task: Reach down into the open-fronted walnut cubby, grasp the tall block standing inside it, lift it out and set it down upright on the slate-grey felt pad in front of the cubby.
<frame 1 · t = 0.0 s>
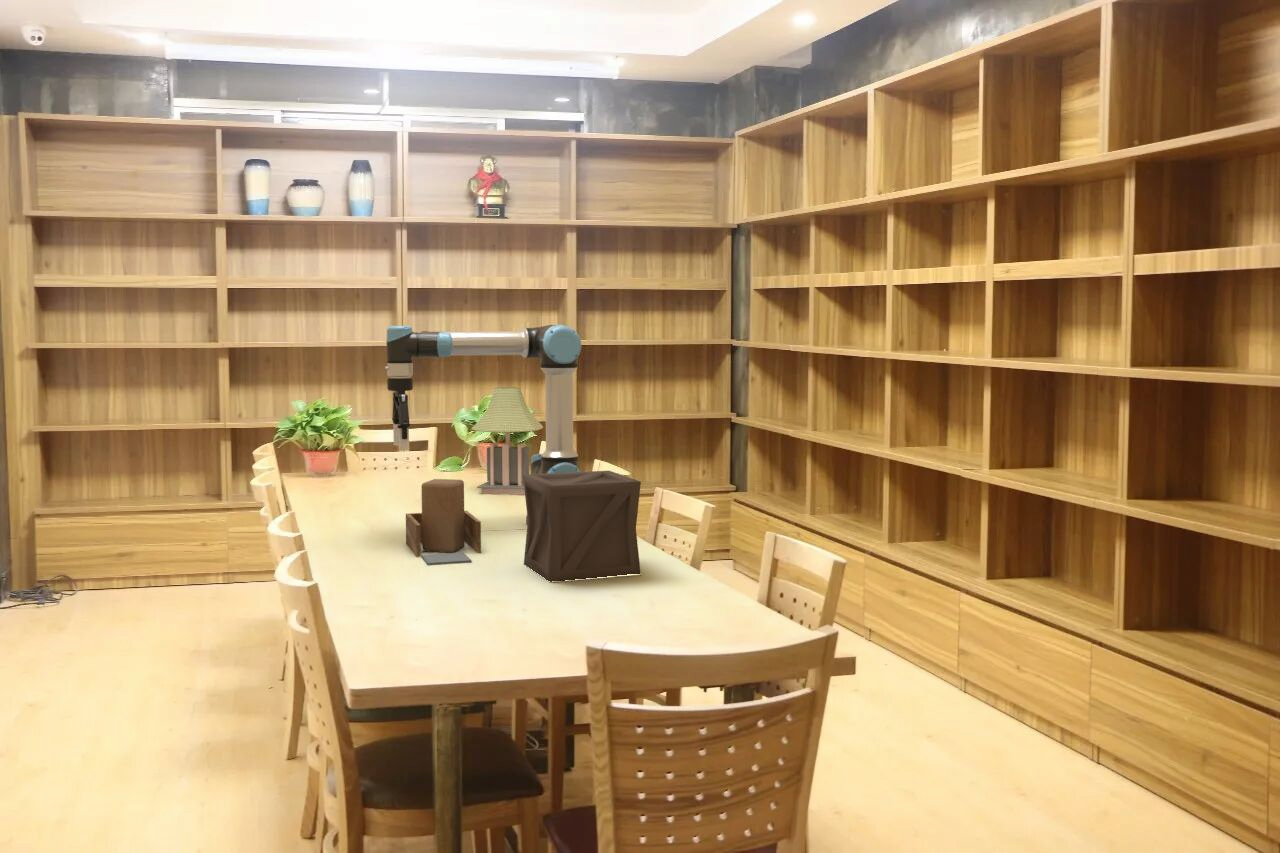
hand: (401, 447, 378), 28 cm above the table, fingers open, 13 cm apart
cubby: (443, 549, 364), on the table
wooden crate: (581, 570, 335), on the table
block: (443, 549, 364), on the table
desk lamp: (508, 492, 481), on the table
pad: (446, 559, 349), on the table
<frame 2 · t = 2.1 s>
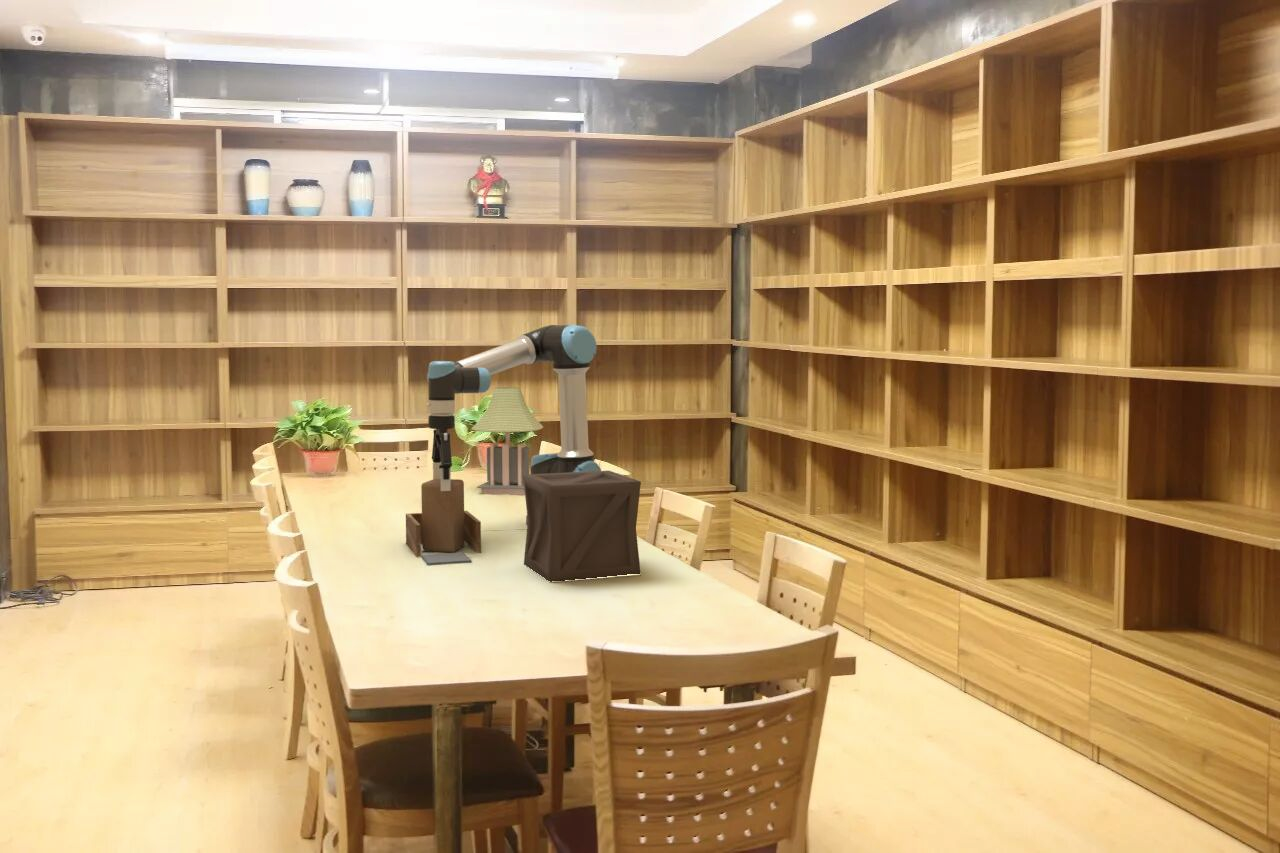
hand: (441, 487, 363), 18 cm above the table, fingers open, 13 cm apart
nothing on the table moved.
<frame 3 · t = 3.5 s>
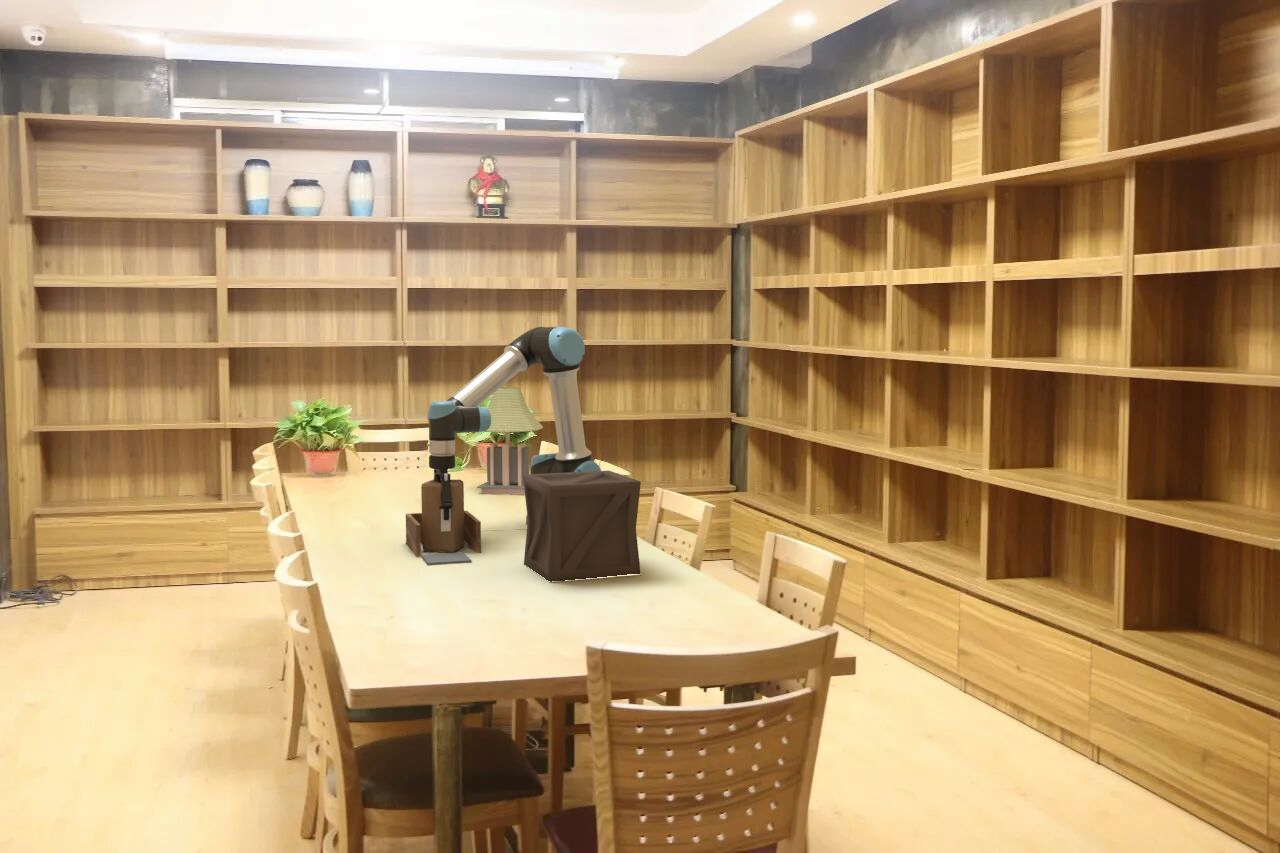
hand: (441, 527, 364), 6 cm above the table, fingers open, 13 cm apart
block: (443, 549, 364), on the table, touching gripper, hand
everything else where it was.
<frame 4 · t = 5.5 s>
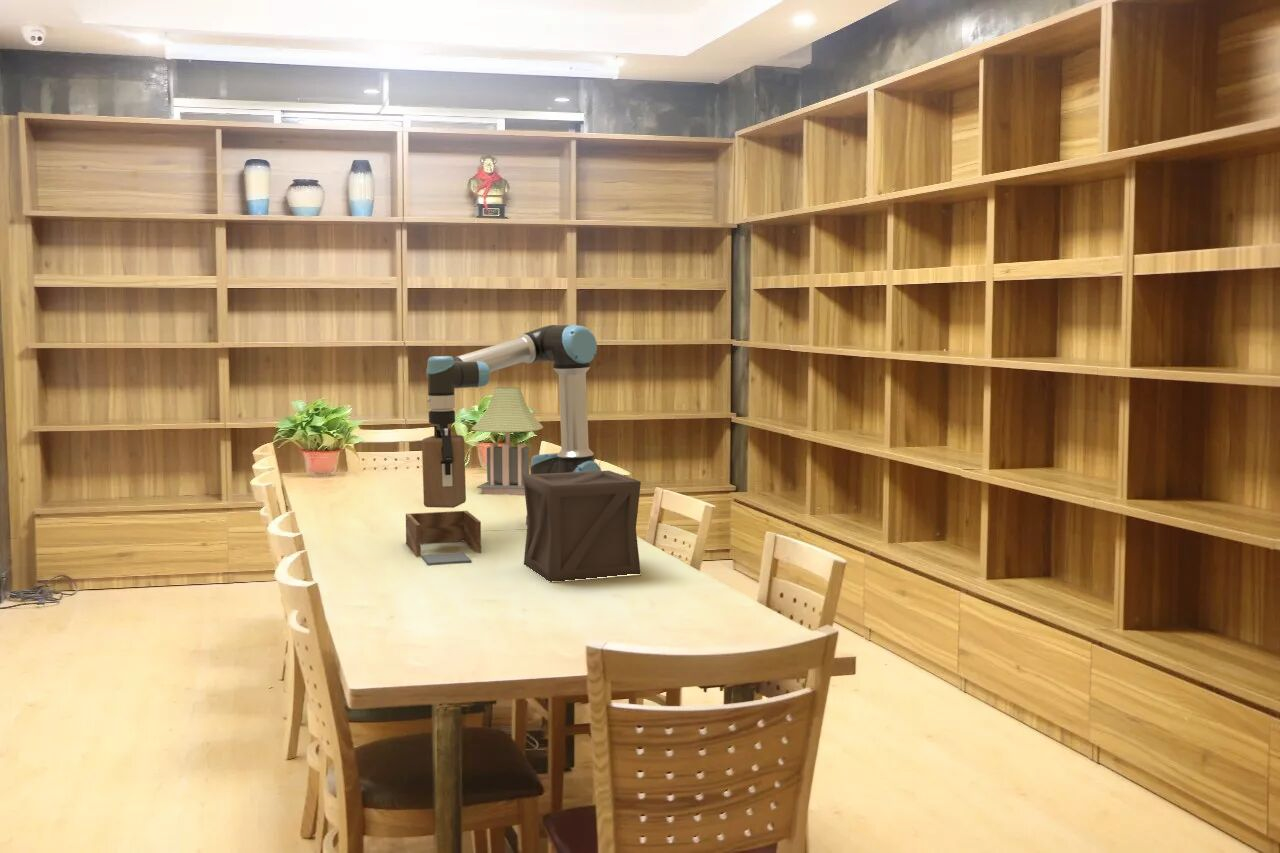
hand: (443, 483, 363), 19 cm above the table, fingers closed on block, 13 cm apart
block: (445, 505, 364), point 13 cm above the table, touching gripper, hand
everything else where it was.
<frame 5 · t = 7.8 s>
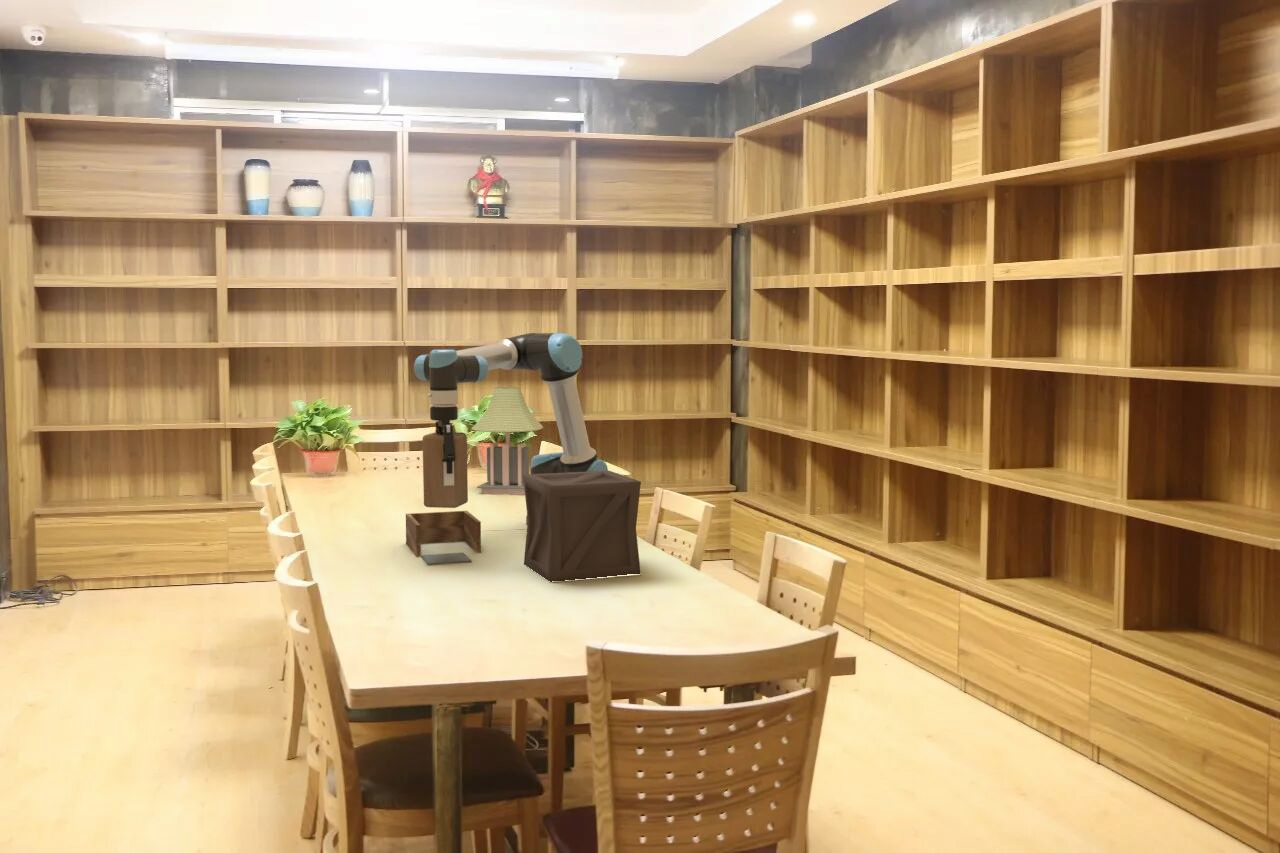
hand: (444, 482, 347), 22 cm above the table, fingers closed on block, 13 cm apart
block: (446, 506, 347), point 15 cm above the table, touching gripper, hand
everything else where it was.
when the fingers open (8 cm above the table, at t = 10.9 s): block stays where it is, resting on pad.
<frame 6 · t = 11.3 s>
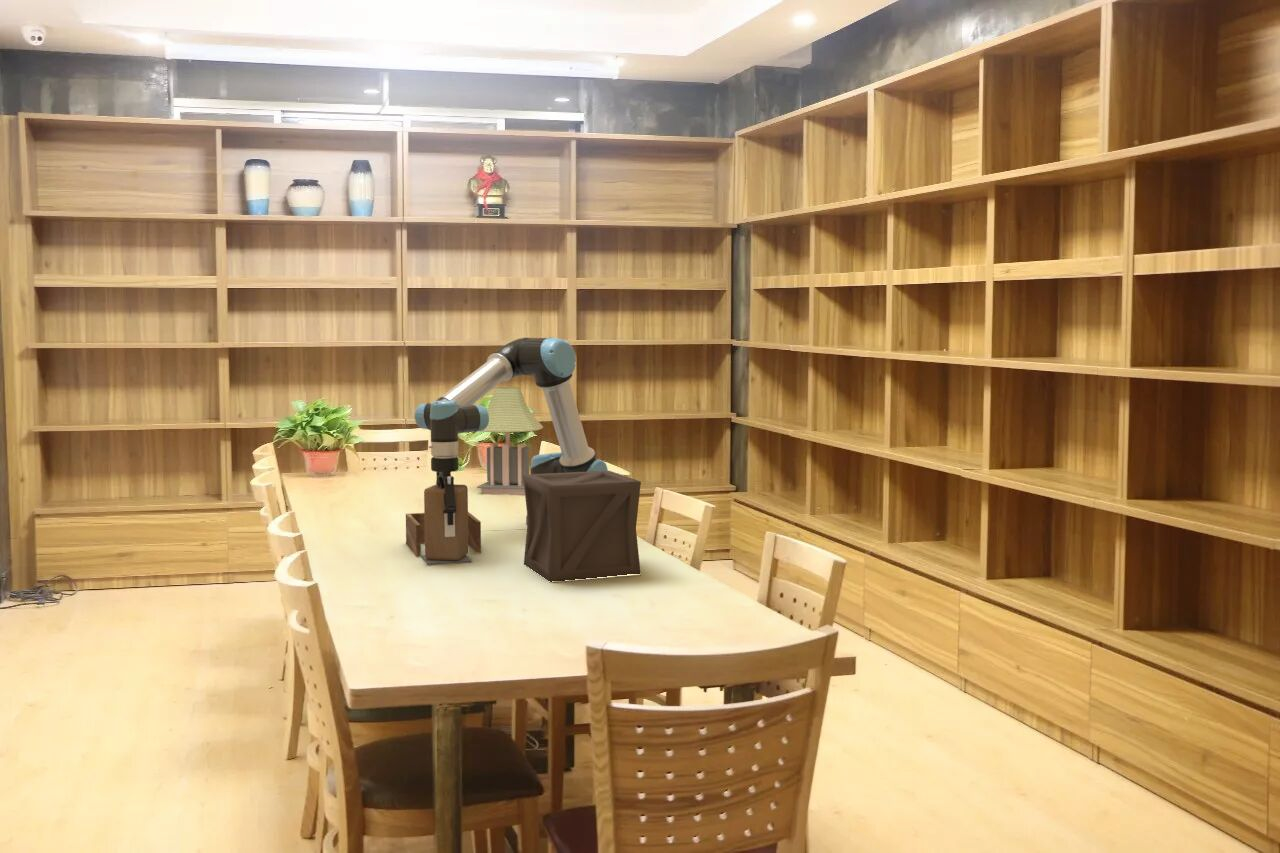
hand: (445, 532, 348), 8 cm above the table, fingers open, 13 cm apart
block: (447, 558, 349), resting on pad, touching gripper
everything else where it was.
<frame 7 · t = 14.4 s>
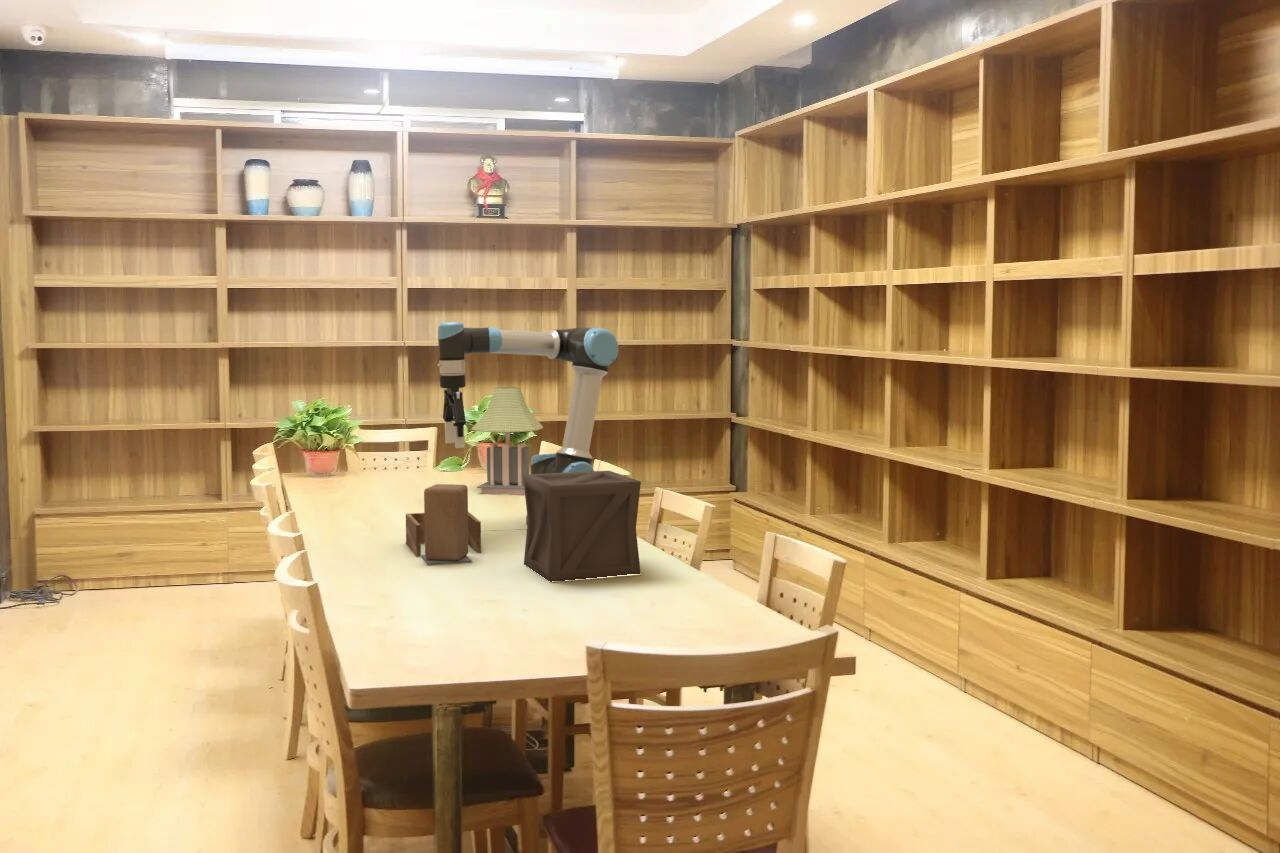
hand: (455, 445, 373), 29 cm above the table, fingers open, 13 cm apart
block: (447, 558, 349), resting on pad
everything else where it was.
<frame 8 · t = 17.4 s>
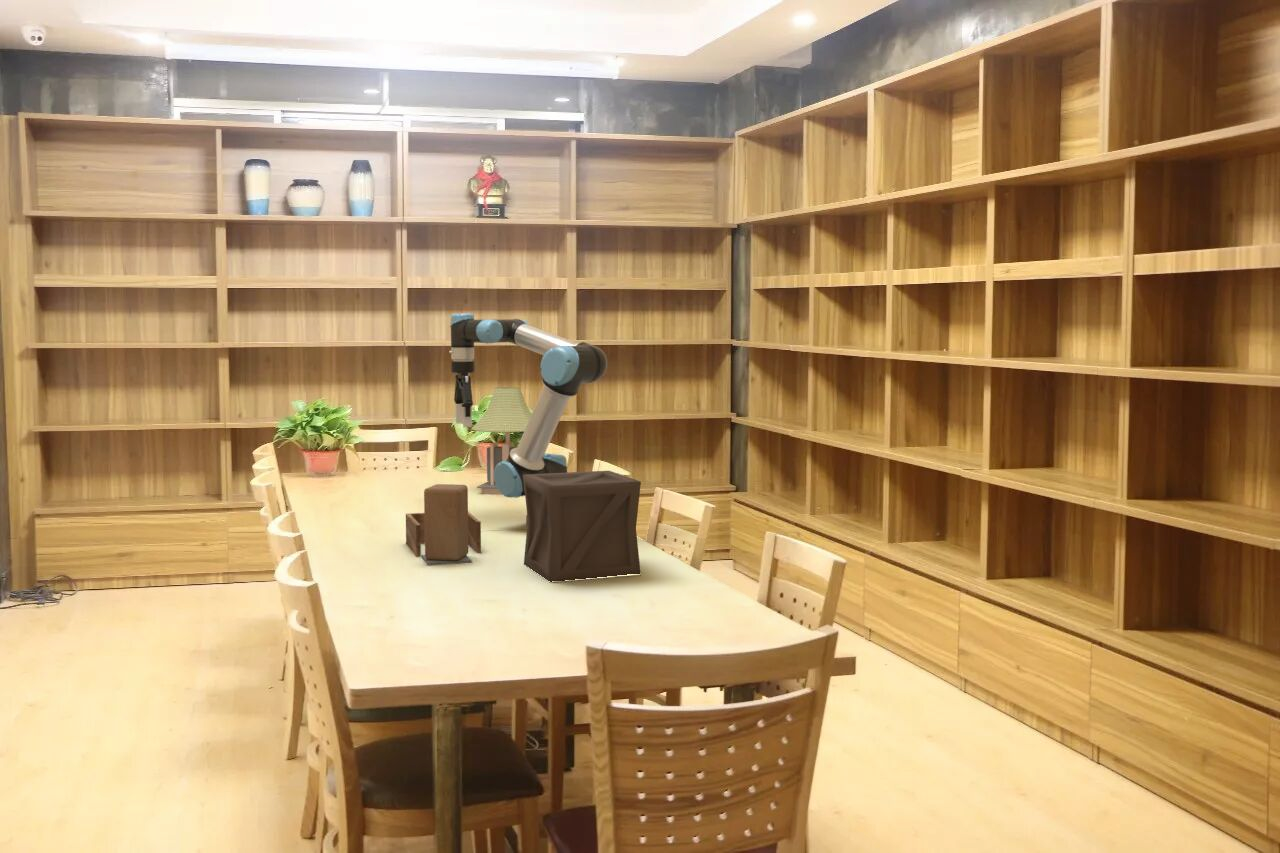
hand: (463, 425, 412), 32 cm above the table, fingers open, 13 cm apart
nothing on the table moved.
at the end: block inside the target area on the pad (0.4 cm from its centre), point 0.4 cm above the pad's base; block tilted 0°; the gripper is holding nothing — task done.
